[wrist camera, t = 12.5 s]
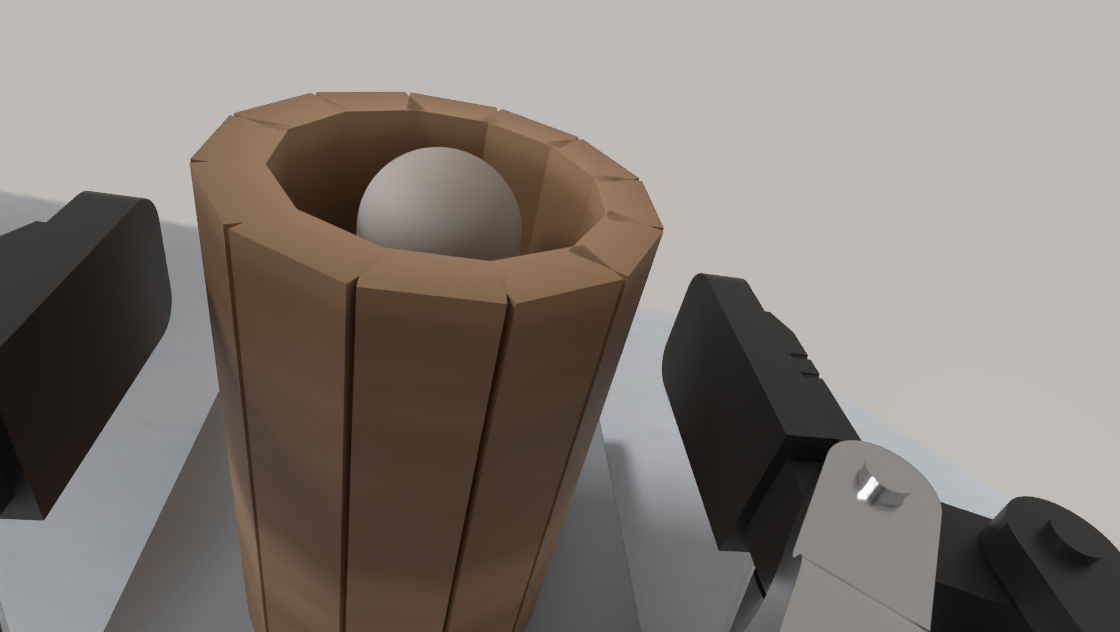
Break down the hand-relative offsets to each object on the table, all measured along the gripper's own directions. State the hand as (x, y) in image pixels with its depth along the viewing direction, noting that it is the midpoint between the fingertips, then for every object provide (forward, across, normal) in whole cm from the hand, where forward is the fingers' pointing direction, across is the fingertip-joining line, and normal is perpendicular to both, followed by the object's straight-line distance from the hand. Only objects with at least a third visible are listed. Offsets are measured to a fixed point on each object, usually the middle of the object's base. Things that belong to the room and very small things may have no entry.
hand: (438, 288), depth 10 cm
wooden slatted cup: (0, 0, +8) cm, 8 cm away
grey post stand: (0, 0, +9) cm, 9 cm away
